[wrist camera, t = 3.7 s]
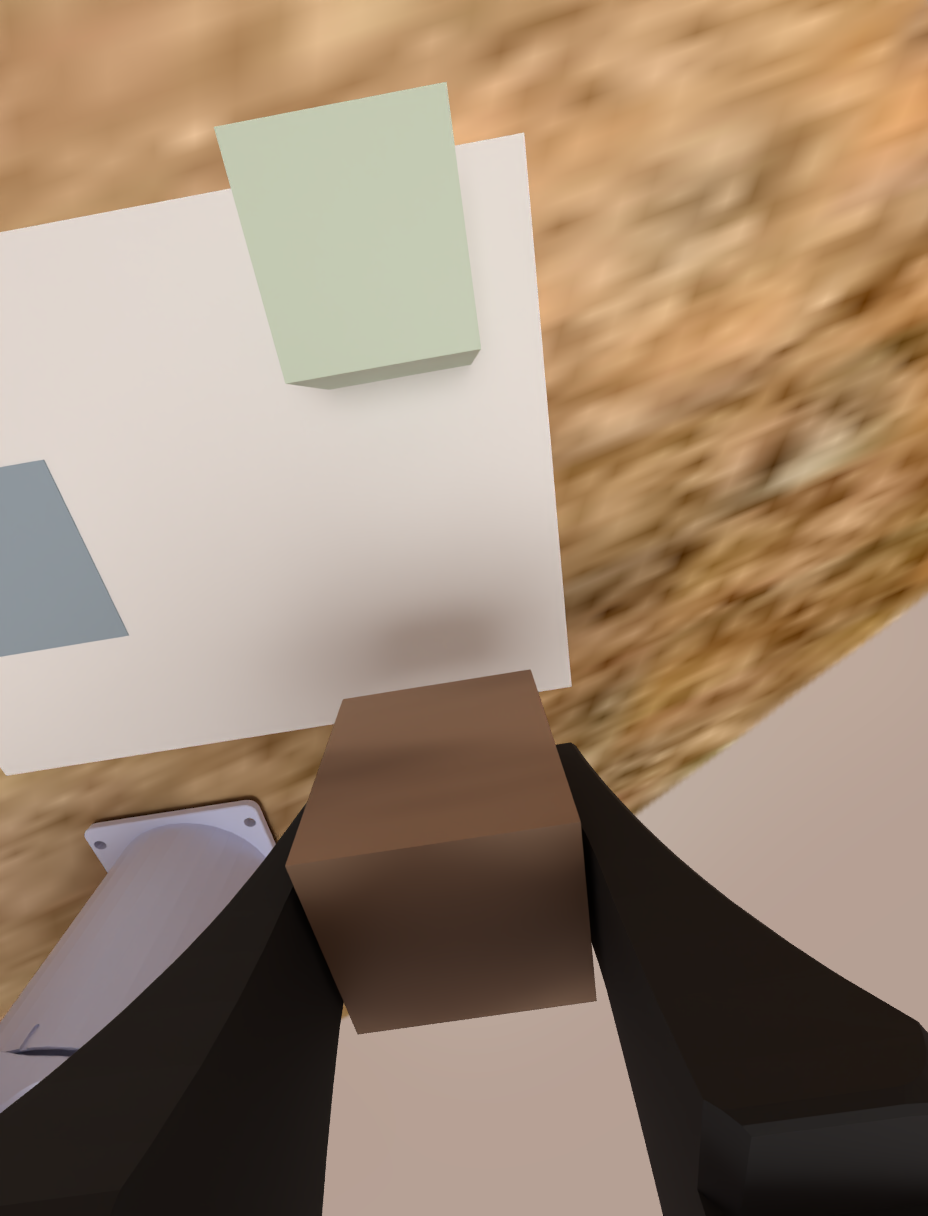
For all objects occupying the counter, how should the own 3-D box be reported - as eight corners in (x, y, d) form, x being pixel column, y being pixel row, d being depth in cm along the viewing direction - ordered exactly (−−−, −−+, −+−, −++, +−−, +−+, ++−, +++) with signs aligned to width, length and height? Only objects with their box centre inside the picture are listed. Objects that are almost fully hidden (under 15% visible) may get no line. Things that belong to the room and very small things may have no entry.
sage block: (471, 364, 15) (481, 348, 11) (329, 389, 15) (285, 383, 11) (445, 183, 13) (446, 81, 9) (285, 213, 13) (214, 126, 9)
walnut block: (548, 812, 13) (596, 1000, 9) (384, 836, 13) (357, 1034, 9) (530, 668, 11) (580, 821, 7) (342, 699, 11) (285, 865, 7)
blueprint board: (568, 678, 20) (571, 687, 20) (17, 765, 21) (5, 776, 20) (520, 143, 13) (524, 131, 13) (-293, 298, 14) (-326, 293, 13)
